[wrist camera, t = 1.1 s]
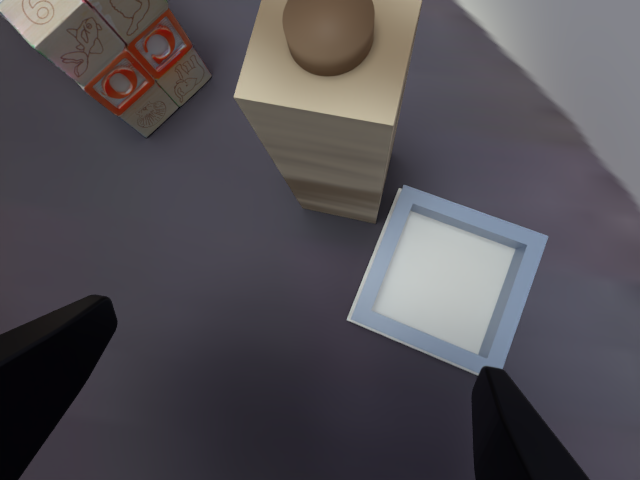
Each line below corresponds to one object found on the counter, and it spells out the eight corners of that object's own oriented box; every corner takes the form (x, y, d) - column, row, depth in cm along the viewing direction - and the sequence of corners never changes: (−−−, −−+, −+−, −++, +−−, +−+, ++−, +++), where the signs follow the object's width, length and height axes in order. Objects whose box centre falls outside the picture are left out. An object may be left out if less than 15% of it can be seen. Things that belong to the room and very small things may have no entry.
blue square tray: (484, 377, 21) (500, 387, 19) (347, 319, 22) (345, 321, 20) (532, 241, 22) (553, 234, 19) (397, 192, 23) (401, 179, 21)
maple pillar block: (375, 223, 23) (395, 111, 9) (302, 208, 24) (223, 81, 10) (391, 152, 24) (432, -50, 10) (320, 139, 24) (267, -68, 11)
